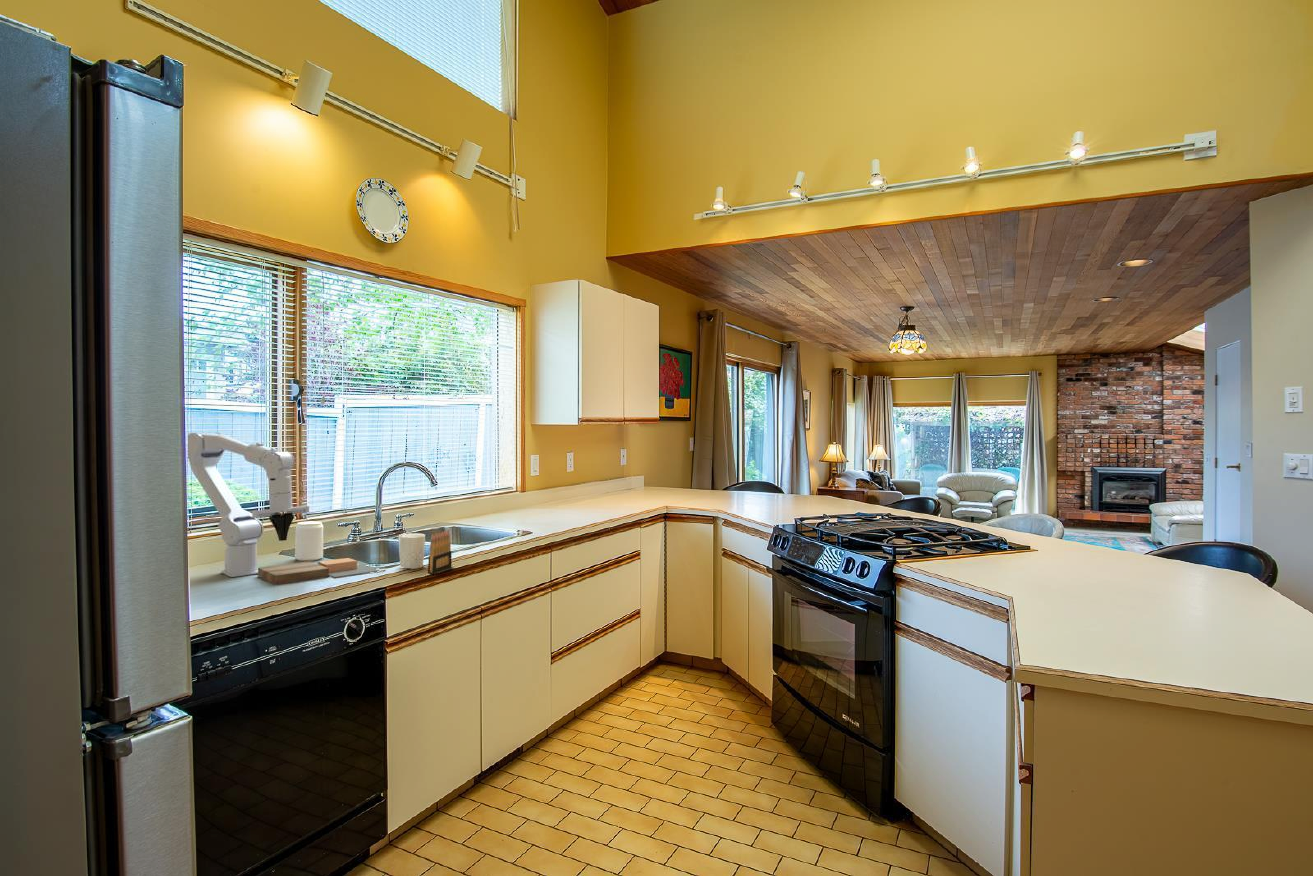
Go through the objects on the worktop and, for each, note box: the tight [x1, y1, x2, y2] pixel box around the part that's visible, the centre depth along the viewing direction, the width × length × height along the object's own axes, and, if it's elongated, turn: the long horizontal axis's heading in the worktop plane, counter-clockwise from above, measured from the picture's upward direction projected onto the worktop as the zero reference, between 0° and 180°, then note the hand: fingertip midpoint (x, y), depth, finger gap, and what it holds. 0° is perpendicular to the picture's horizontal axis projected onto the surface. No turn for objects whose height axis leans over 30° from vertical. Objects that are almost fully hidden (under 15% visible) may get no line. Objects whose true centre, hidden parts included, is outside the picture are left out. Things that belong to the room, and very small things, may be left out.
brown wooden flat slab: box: [257, 561, 330, 586], centre depth 190 cm, size 14×14×2 cm
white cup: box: [398, 532, 426, 570], centre depth 206 cm, size 8×8×10 cm
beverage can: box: [294, 520, 324, 562], centre depth 215 cm, size 8×8×12 cm
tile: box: [317, 557, 358, 572], centre depth 199 cm, size 6×9×2 cm, turn 138°
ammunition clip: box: [427, 529, 453, 575], centre depth 203 cm, size 11×2×12 cm, turn 168°
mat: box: [329, 560, 380, 579], centre depth 200 cm, size 18×15×1 cm
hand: (282, 540), depth 190 cm, fingers closed
